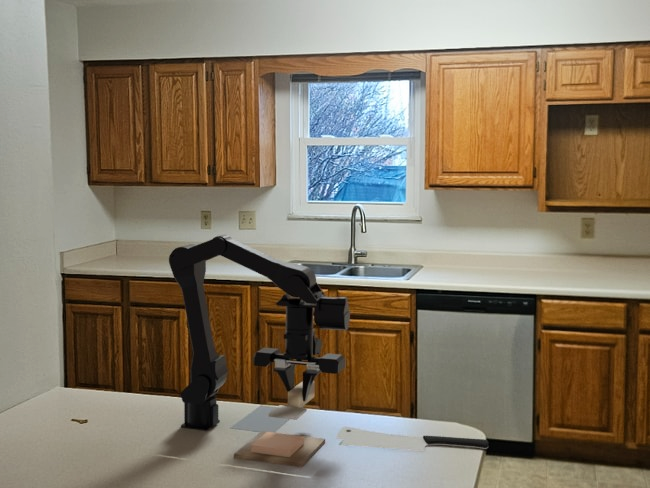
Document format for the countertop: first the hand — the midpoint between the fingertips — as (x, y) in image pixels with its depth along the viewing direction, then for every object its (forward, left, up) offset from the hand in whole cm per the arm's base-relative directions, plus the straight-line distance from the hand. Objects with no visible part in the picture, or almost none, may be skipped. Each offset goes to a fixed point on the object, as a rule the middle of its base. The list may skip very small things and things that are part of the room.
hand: (298, 400), depth 165 cm
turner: (0, -1, -1) cm, 2 cm away
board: (0, -10, -8) cm, 12 cm away
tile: (0, -12, -6) cm, 13 cm away
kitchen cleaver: (+24, +3, -8) cm, 25 cm away
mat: (-10, +6, -8) cm, 14 cm away
